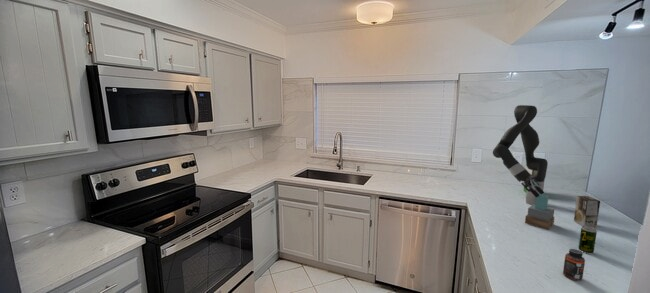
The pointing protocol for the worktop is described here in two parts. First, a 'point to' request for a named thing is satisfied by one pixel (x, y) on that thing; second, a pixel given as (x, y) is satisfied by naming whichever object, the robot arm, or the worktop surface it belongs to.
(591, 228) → the beer can
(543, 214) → the tower top
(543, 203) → the teal block
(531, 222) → the tower bottom
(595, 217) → the coffee box
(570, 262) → the supplement bottle
